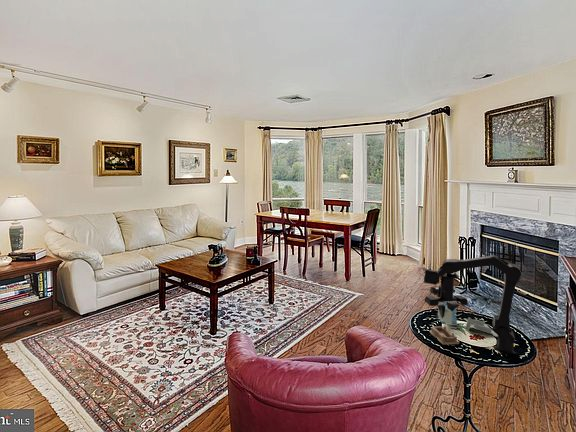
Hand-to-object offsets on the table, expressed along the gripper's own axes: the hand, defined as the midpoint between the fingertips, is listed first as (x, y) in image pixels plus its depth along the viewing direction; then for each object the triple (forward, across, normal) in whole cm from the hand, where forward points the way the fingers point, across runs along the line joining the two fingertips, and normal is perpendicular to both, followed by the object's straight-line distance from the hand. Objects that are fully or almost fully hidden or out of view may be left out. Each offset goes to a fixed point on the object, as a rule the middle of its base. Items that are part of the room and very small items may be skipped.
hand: (444, 317), depth 165 cm
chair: (+11, -13, -18) cm, 25 cm away
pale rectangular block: (+1, 0, 0) cm, 1 cm away
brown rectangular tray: (+10, 0, 0) cm, 10 cm away
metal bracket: (+11, -23, -7) cm, 27 cm away
